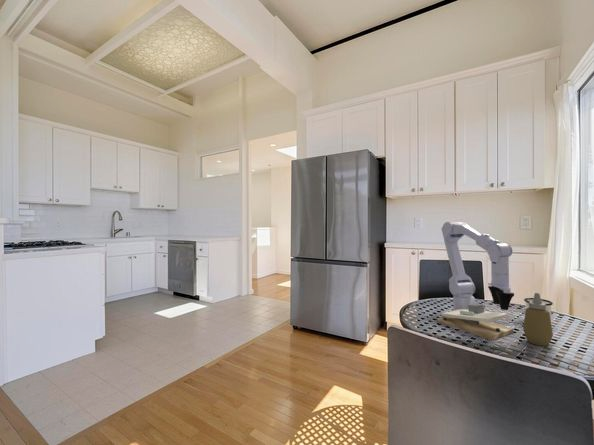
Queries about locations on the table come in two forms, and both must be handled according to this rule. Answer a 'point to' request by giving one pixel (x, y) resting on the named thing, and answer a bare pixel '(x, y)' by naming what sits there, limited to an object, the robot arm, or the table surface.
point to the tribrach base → (477, 327)
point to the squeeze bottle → (537, 323)
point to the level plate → (475, 314)
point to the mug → (548, 303)
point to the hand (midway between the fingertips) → (500, 306)
